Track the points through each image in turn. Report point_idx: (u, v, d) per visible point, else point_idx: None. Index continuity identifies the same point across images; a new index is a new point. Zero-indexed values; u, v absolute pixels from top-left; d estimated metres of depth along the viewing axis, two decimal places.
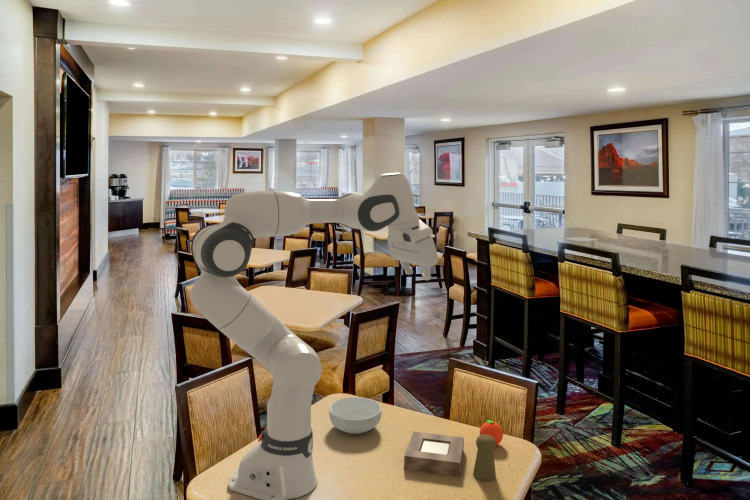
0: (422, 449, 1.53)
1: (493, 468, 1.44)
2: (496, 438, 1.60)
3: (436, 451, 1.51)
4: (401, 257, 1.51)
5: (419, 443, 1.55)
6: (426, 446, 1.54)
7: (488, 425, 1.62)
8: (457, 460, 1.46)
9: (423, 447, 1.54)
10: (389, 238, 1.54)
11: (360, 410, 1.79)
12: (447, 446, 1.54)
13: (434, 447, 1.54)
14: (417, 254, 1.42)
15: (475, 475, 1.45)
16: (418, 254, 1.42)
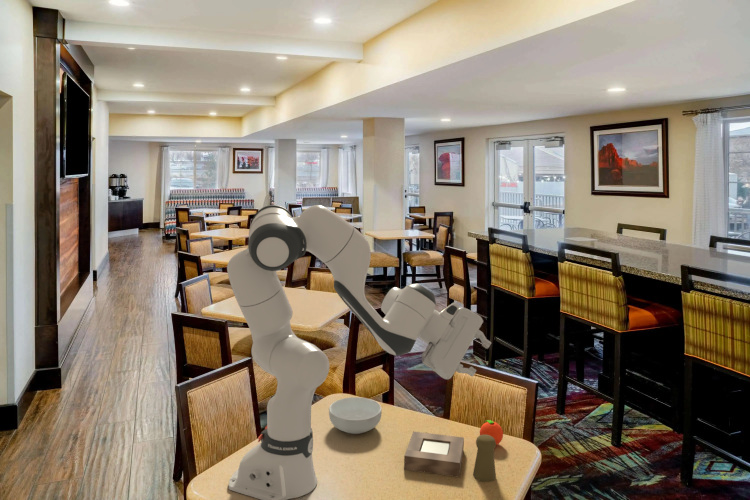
0: (422, 449, 1.53)
1: (493, 468, 1.44)
2: (496, 438, 1.60)
3: (436, 451, 1.51)
4: (459, 353, 1.39)
5: (419, 443, 1.55)
6: (426, 446, 1.54)
7: (488, 425, 1.62)
8: (457, 460, 1.46)
9: (423, 447, 1.54)
10: (434, 354, 1.38)
11: (360, 410, 1.79)
12: (447, 446, 1.54)
13: (434, 447, 1.54)
14: (467, 321, 1.45)
15: (475, 475, 1.45)
16: (468, 320, 1.45)
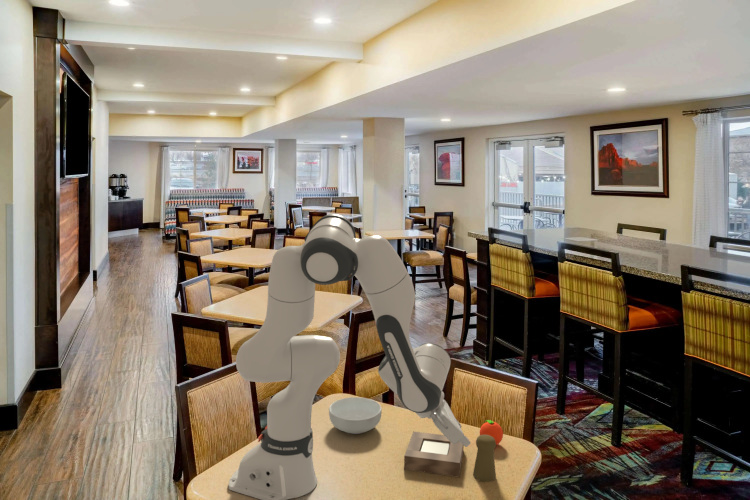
0: (422, 449, 1.53)
1: (493, 468, 1.44)
2: (496, 438, 1.60)
3: (436, 451, 1.51)
4: (455, 420, 1.38)
5: (419, 443, 1.55)
6: (426, 446, 1.54)
7: (488, 424, 1.62)
8: (457, 460, 1.46)
9: (423, 447, 1.54)
10: (445, 414, 1.33)
11: (360, 410, 1.79)
12: (447, 446, 1.54)
13: (434, 447, 1.54)
14: None
15: (475, 475, 1.45)
16: None
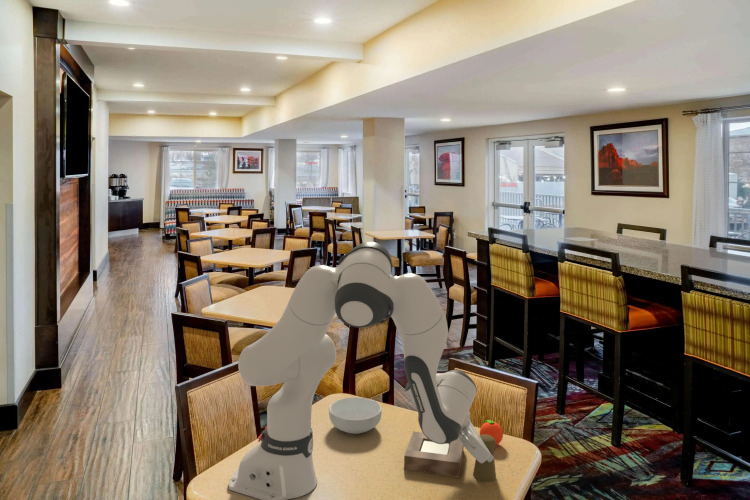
0: (422, 449, 1.53)
1: (493, 468, 1.44)
2: (496, 438, 1.60)
3: (436, 451, 1.51)
4: (481, 439, 1.41)
5: (419, 443, 1.55)
6: (426, 446, 1.54)
7: (488, 424, 1.62)
8: (457, 460, 1.46)
9: (423, 447, 1.54)
10: (472, 434, 1.36)
11: (360, 410, 1.79)
12: (447, 446, 1.54)
13: (434, 447, 1.54)
14: None
15: (475, 475, 1.45)
16: None
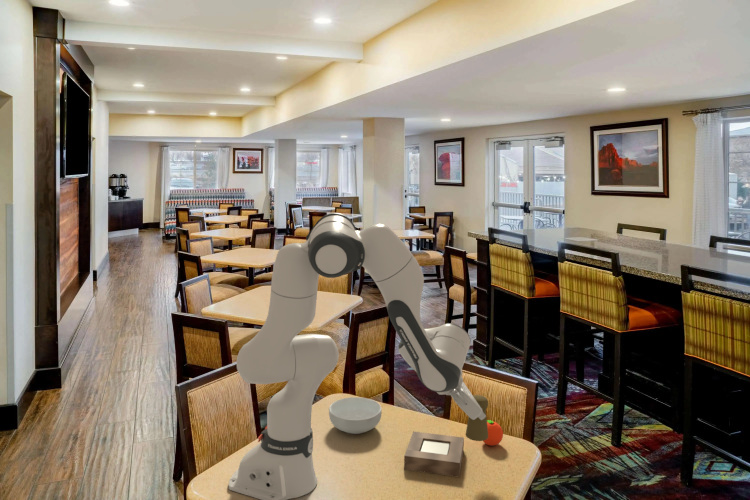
0: (422, 449, 1.53)
1: (485, 428, 1.44)
2: (496, 438, 1.60)
3: (436, 451, 1.51)
4: (473, 397, 1.41)
5: (419, 443, 1.55)
6: (426, 446, 1.54)
7: (488, 424, 1.62)
8: (457, 460, 1.46)
9: (423, 447, 1.54)
10: (464, 390, 1.36)
11: (360, 410, 1.79)
12: (447, 446, 1.54)
13: (434, 447, 1.54)
14: None
15: (467, 435, 1.45)
16: None
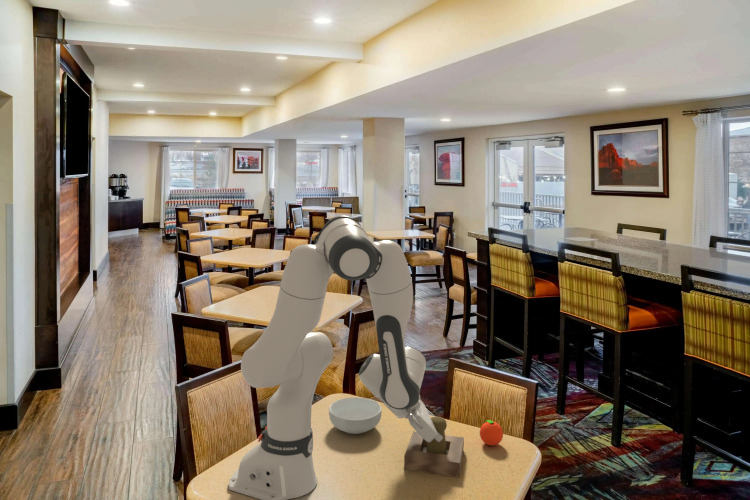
0: None
1: (444, 448, 1.51)
2: (496, 438, 1.60)
3: None
4: (430, 420, 1.49)
5: (419, 443, 1.55)
6: None
7: (488, 424, 1.62)
8: (457, 460, 1.46)
9: None
10: (420, 414, 1.44)
11: (360, 410, 1.79)
12: (447, 453, 1.55)
13: None
14: None
15: None
16: None
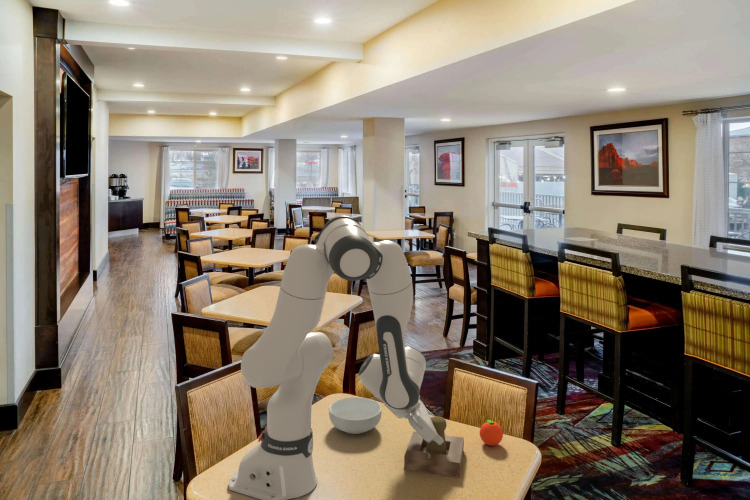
0: None
1: (444, 448, 1.51)
2: (496, 438, 1.60)
3: None
4: (430, 420, 1.49)
5: (419, 443, 1.55)
6: None
7: (488, 424, 1.62)
8: (457, 460, 1.46)
9: None
10: (420, 414, 1.44)
11: (360, 410, 1.79)
12: (447, 453, 1.55)
13: None
14: None
15: None
16: None
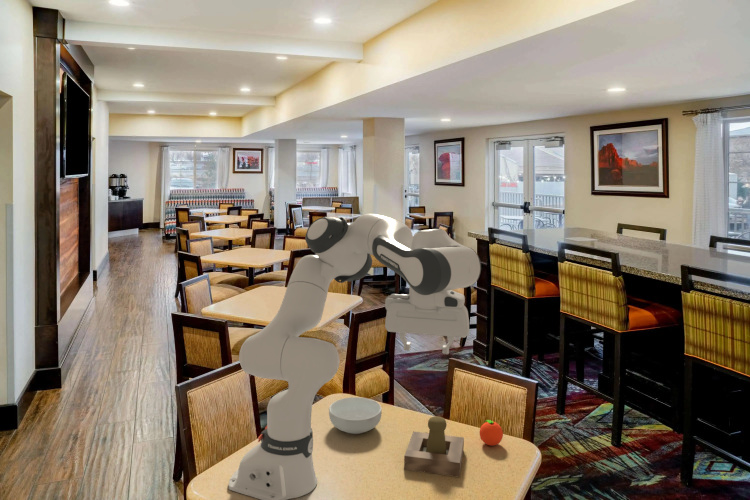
0: None
1: (444, 448, 1.51)
2: (496, 438, 1.60)
3: None
4: (412, 328, 1.30)
5: (419, 443, 1.55)
6: None
7: (488, 424, 1.62)
8: (457, 460, 1.46)
9: None
10: (395, 305, 1.31)
11: (360, 410, 1.79)
12: (447, 453, 1.55)
13: None
14: (452, 322, 1.28)
15: None
16: (455, 322, 1.28)
